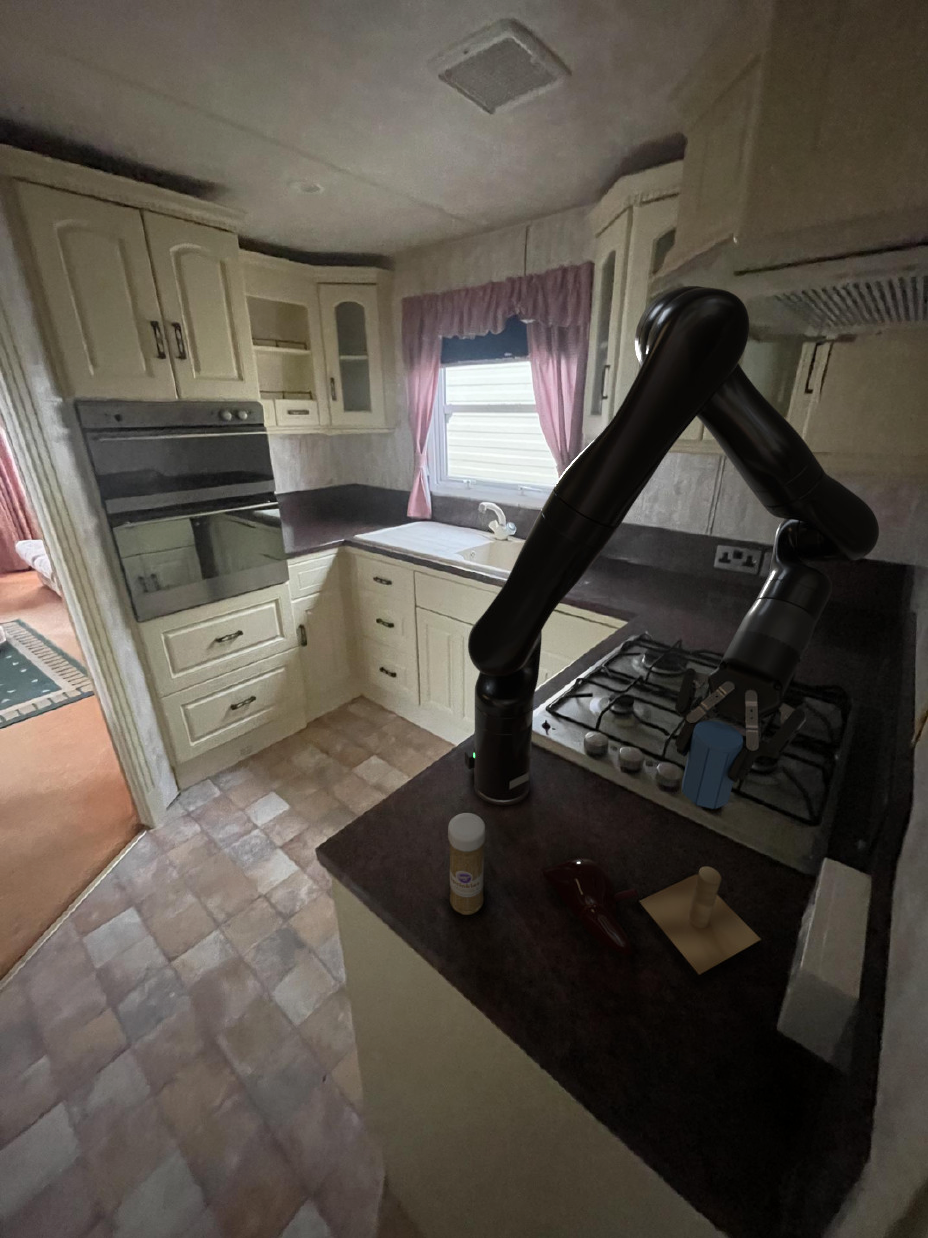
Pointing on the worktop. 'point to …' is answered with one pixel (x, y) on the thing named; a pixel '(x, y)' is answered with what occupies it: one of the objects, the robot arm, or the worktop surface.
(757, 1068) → the worktop surface
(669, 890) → the dowel stand
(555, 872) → the dark red glossy lump
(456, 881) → the sprinkles bottle
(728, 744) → the blue sleeve
